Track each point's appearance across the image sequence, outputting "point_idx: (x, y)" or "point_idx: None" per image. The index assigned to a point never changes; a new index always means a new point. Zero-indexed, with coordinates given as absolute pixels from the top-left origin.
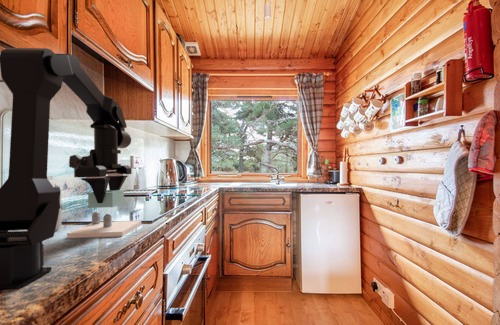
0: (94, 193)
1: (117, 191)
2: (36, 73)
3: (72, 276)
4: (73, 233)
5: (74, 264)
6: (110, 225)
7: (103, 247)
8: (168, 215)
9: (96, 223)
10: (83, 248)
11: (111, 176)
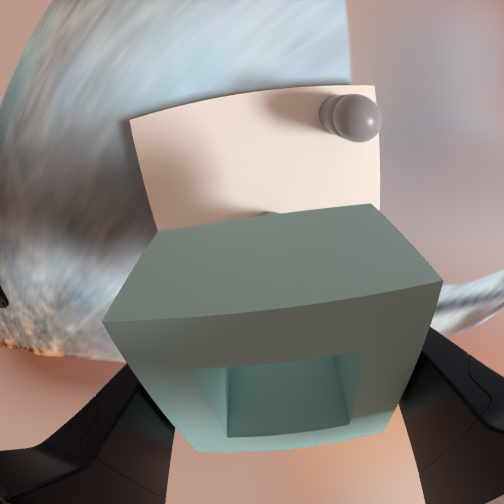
0: (110, 387)
1: (275, 449)
2: None
3: (22, 340)
4: (136, 150)
5: (34, 320)
6: None
7: (102, 323)
8: (477, 313)
9: (324, 128)
10: (77, 280)
11: (494, 495)
